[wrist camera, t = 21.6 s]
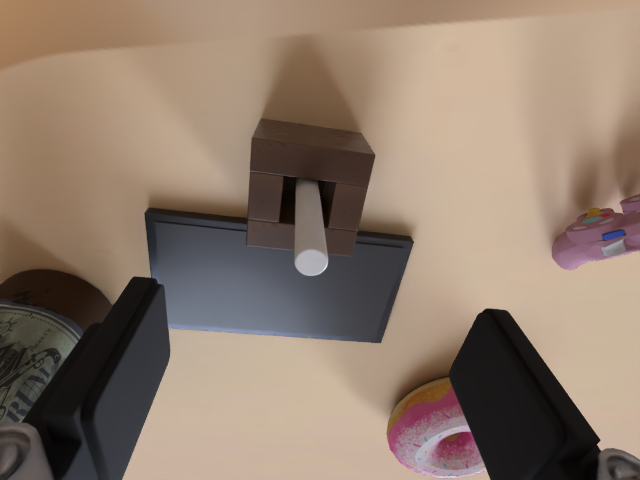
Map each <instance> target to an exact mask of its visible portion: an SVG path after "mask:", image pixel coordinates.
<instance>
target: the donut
mask: <svg viewBox="0 0 640 480" xmlns="http://www.w3.org/2000/svg"><path fill="white" fill-rule="evenodd" d="M387 438H388V443H389V447H390V450H391V451H392V452H393V454H394V455H395V457H396V458H397V459H398V460H399V462H400V463H401V464H403V465H404V466H406V467H407V468H409V469H411V470H413V471H415V472H417V473H420V474H422V475H425V476H430V477H435V478H458V477H465V476H469V475H473V474H477V473H479V472H482V471H485V470H486V467H485V465H484V462H483V460H482V458H481V455H480V453H479V450H478V448H477V445H476V443H475V441H474V438H473V436H472V433H471V431H470V429H469V426H468V424H467V421H466V419H465V416H464V414H463V412H462V409H461V407H460V404H459V402H458V399H457V397H456V395H455V392H454V390H453V387H452V385H451V383H450V379H449V377H446V378H441V379H437V380H435V381H432V382H429V383H427V384H424V385H422V386H420V387H418V388H417V389H415V390H414V391H412V392H410V393H409V394H408V395H407V396H406V397H405V398H404V399H403V400H401V401H400V402H399V403H398V404H397V406H396V407H395V408H394V410H393V411H392V414H391V416H390V418H389V422H388V426H387Z"/></svg>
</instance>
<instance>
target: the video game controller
mask: <svg viewBox="0 0 640 480" xmlns="http://www.w3.org/2000/svg"><path fill="white" fill-rule="evenodd" d="M620 204H621V207H622V210H623V214H622V213H614V211H613V209H611V208H605V209H600V210H599V208H593V209H590V210H588V211H587V213H586V214H583V215H581V216H579V217H578V218H577V222H575V223H573V224H572V225H570V226H569V227H567V228H566V231H565V232H563V233H562V234H561V235H560V236H559V237H558V238H557V239H556V241H555V242H554V244H553V247H552V257H553V259H554V261H555V262H556V263H557V264H558V265H559V266H560V267H561V268H563V269H566V270H572V269H575V268H577V267H579V266H580V265H582V264H584V263H586V262H590V261H598V260H605V259H609V258H613V257H618V256H621V255H625V254H628V253H632V252H637V251H640V194H639V195H635V196H632V197H629V198H626V199H624V200H622V201H621V202H620Z"/></svg>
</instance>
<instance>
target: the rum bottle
mask: <svg viewBox="0 0 640 480" xmlns="http://www.w3.org/2000/svg"><path fill="white" fill-rule="evenodd" d="M112 307H113V306H112V305H111V303H110V302H109V300H108V299H107V298H106V297H105V296H104V295H103V294H102V293H101V292H100V291H99V290H98V289H96V288H95V287H93V286H92V285H90V284H89V283H87V282H85V281H83V280H81V279H79V278H77V277H75V276H72V275H69V274H66V273H62V272H57V271H51V270H30V271H24V272H21V273H18V274H16V275H14V276H12V277H10V278H8V279H7V280H5V281H4V282H3V283H1V284H0V424H4V423H11V422H22V420H23V419H24V417H25V416H26V414H27V413H28V412H29V410H30V409H31V407H32V406H33V405H34V403H35V402H36V400H37V399H38V397H39V396H40V395H41V393H42V392H43V390H44V389H45V388H46V386H47V385H48V383H49V382H50V381H51V379H52V378H53V376H54V375H55V373H56V372H57V371H58V369H59V368H60V366H61V365H62V364H63V362H64V361H65V359H66V358H67V356H68V355H69V354H70V352H71V351H72V349H73V348H74V347H75V345H76V344H77V342H78V341H79V339H80V338H81V337H82V335H83V334H84V332H85V331H86V330H87V328H88V327H89V326H90V325H91V324H93V323H102V322H103V320H104V319H105V317H106V316H107V314H108V313H109V311H110V310H111V308H112Z"/></svg>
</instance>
